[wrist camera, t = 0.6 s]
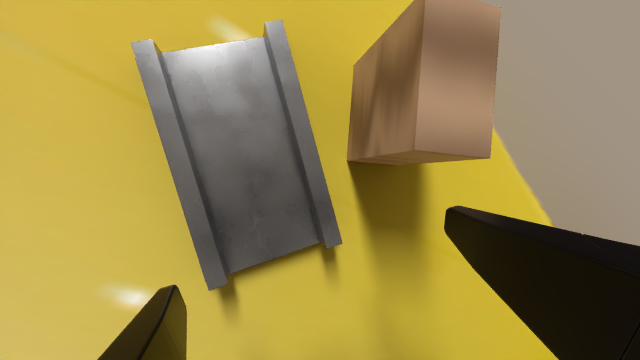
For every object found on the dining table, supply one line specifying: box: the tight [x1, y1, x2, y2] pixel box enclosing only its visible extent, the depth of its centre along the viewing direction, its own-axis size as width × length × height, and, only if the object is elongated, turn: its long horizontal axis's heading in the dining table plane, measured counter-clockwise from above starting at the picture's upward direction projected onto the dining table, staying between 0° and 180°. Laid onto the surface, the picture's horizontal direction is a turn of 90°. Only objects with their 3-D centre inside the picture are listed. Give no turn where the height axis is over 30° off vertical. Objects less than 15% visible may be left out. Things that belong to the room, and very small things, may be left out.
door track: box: [131, 20, 343, 291], centre depth 20 cm, size 16×10×3 cm, turn 16°
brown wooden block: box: [347, 0, 501, 165], centre depth 19 cm, size 8×4×10 cm, turn 176°
